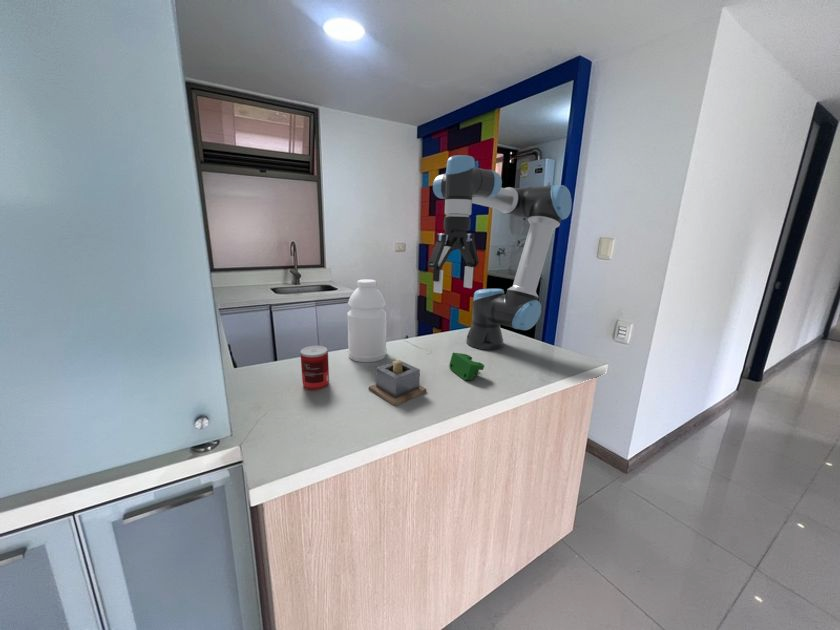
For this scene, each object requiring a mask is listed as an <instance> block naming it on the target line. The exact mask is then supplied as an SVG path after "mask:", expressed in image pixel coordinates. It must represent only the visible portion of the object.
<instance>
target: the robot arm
mask: <svg viewBox="0 0 840 630" xmlns="http://www.w3.org/2000/svg"><path fill="white" fill-rule="evenodd" d="M475 164H476V163H475V158H474V157H473V156H472V155H471V156H470V155H465V154H463V155H461V154H460V155H459V154H458V155H452V156H450V157H449V158H448V159H447V162H446V169H445V173H443V174H439V175H437V176H436V177H435V179H434V180H433V182H432V191H433V193H434V195H435V197H437V198H439V199H443V200H444V215H446V216H444V218H443V230H444V231H445V233H442V232H441V233H437V235H436V240H435V244H434V246H433V250H432V252H431V255H430V257H429V261H428V262H427V267H428V268H430V270H432V280H433V281H432V282H433V293H437V294H442V293H443V283H444V282H443V281H444V270H443V269H442V268H443V266H444V265H445V263H446V261H447V260H448V259H449V256H450V255H451V253H452V252H454V251H456V250H458V251H459V252H460V254H461V256H462V258H463V261H465V264H466V266H464V276H463V288H467V289H472V288H473V279H474V270H475V268H477V266H478V265H479V264H480V258H479V255H478V251H477V248H476V242H475V234H474V233H468V232H469V231H470V230H471V223H472V222H471V221H472V219H471V217H470V216H471V215H472V207H473V206H472V205H474V204H475V205H480V206H482V207H488V208H491V209H497V210H498V211H499V212H500V213H502V214H504V215H505V214H507V215H509V216H514V217H516V218H517V217H518V218H522V219H527V221H528V223H529V228H528V232H527V235H526V240H525V243H524V245H523V249H522V251H521V252H522V253H521V257H520V260H519V263H518V267H517V270H516V273H515V277H514V280H513V284H512V286H510V287H509V288H507V290H506V293H505V291H504V289H502V288H483V289H481V288H480V289H478V290H475V292H474V293H473V300H472V315H471V326H470V327H469V331H468V333H467V336H466V340H465V341H466V345H468V346H469V347H471V348H475V349H478V350H488V351H492V350H493V351H495V350H500V349H501V348H503V346H504V338H503V332H502V329H501V325H503V326H505V327H510V328H513V329H515V330H521V331H528V330H530V329H532V328H533V327H534V326H535V325H536V324H537V322H538V320H539V319H540V317H541V314H542V304H541V303H540V301H538V300H539V295H538V294H537V288H538V286H539V282H540V279H541V274H542V272H543V268H544V264H545V260H546V257H547V254H548V251H549V247H550V244H551V240H552V237H553V234H554V231H555V229H556V228H559V227H560V225H561V221H562V220H565V219H567V218H568V217H569V216H570V214H571V213H572V212H571V211H572V202H573V201H572V197H571V192H570V190H569V188H568V187H567V186H566V185H563V184H561V185H556V184H552V185H543V186H529V187H528V186H527V187H519V188H518V187H517V188H516V187H510V186H508V187H502V186H503V185H502V184H503V180H502V177H501V175H500V173H498V172H496V171H494V170H492V169H484V168H479V167H476V165H475Z"/></svg>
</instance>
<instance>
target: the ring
mask: <svg viewBox="0 0 840 630" xmlns="http://www.w3.org/2000/svg"><path fill="white" fill-rule="evenodd" d="M398 361H402V373H399V374H395V373H393V362H394V361H392V362H390V363H387V364H383V365H380V366H378V367H375V384H376V387H377V388H379V389H381V390H382V391H384V392H386V393H387V394H389V395H391V396H392V397H394V398H398V397H400V396H403V395H405V394H407V393H410V392H412V391H414V390H417V389H419V385H420V381H421V379H420V377H421V376H420V375H421V374H420V373H421V369H420V368H417V367H415V366H413V365H411V364H409V363H407V362H404V361H403V360H400V359H399V360H398Z"/></svg>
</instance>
